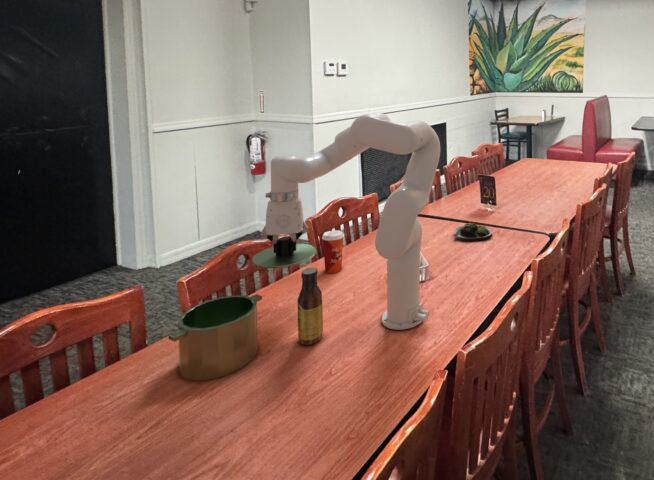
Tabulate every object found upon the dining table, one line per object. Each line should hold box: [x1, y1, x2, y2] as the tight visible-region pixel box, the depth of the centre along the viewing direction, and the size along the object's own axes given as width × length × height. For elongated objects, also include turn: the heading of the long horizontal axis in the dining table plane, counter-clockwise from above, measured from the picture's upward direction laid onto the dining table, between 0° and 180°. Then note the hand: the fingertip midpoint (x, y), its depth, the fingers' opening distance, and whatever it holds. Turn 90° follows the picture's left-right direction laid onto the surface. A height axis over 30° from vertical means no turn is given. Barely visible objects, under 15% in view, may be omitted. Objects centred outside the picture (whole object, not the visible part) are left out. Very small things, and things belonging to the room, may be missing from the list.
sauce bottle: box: [296, 266, 324, 346], centre depth 123 cm, size 7×6×20 cm
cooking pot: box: [168, 293, 263, 381], centre depth 115 cm, size 17×22×12 cm
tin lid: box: [252, 236, 317, 269], centre depth 138 cm, size 18×18×6 cm
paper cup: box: [321, 229, 345, 274], centre depth 167 cm, size 8×8×14 cm
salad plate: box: [453, 222, 493, 242], centre depth 207 cm, size 19×18×5 cm
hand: (285, 253), depth 138 cm, fingers closed on tin lid, 3 cm apart
